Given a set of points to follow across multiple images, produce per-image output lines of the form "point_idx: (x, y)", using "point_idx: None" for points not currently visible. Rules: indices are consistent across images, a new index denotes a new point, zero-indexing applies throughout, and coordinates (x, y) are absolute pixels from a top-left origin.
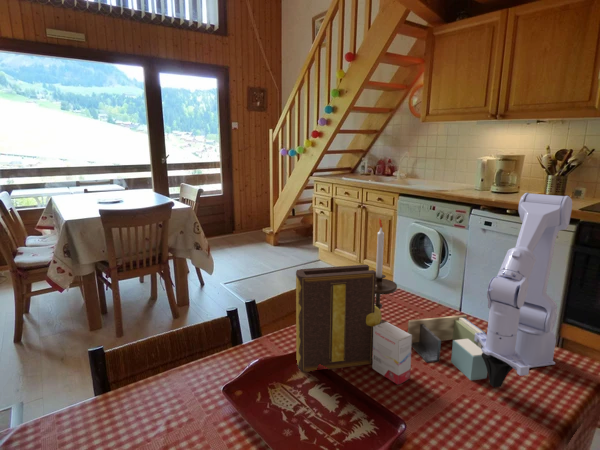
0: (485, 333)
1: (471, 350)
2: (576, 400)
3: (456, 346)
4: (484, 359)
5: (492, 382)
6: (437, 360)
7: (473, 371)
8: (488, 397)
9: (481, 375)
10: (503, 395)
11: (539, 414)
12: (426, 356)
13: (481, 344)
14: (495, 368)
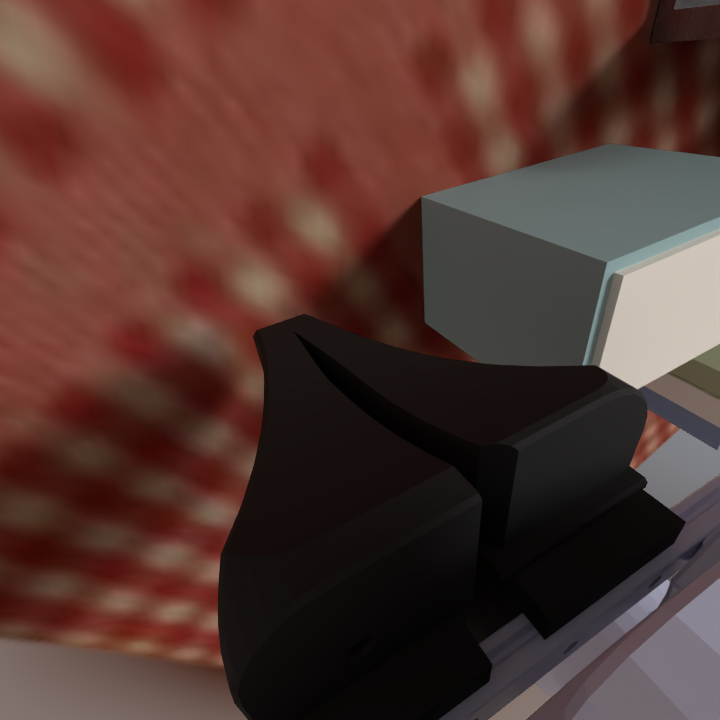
0: (717, 445)
1: (677, 289)
2: None
3: None
4: (518, 384)
5: (274, 341)
6: (663, 19)
7: (472, 235)
8: (210, 255)
9: (440, 294)
10: (247, 374)
11: (50, 540)
12: None
13: (646, 386)
14: (246, 516)
